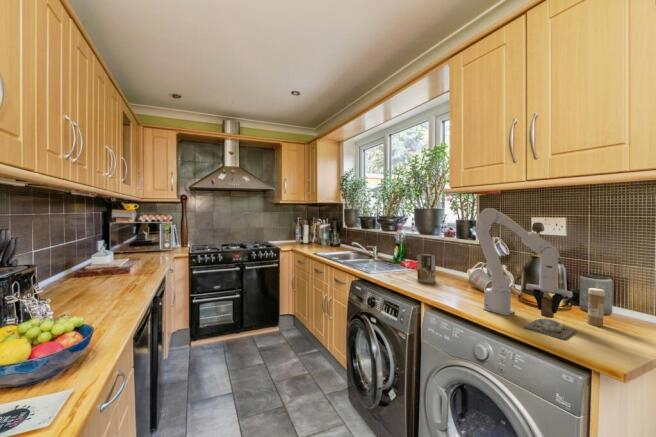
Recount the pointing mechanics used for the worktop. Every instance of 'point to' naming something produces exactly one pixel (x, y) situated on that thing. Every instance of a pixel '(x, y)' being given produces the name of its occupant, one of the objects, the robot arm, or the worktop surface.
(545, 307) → the walnut peg
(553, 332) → the cup bracket
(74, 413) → the worktop surface
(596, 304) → the sprinkles bottle
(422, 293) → the worktop surface
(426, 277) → the coffee box
